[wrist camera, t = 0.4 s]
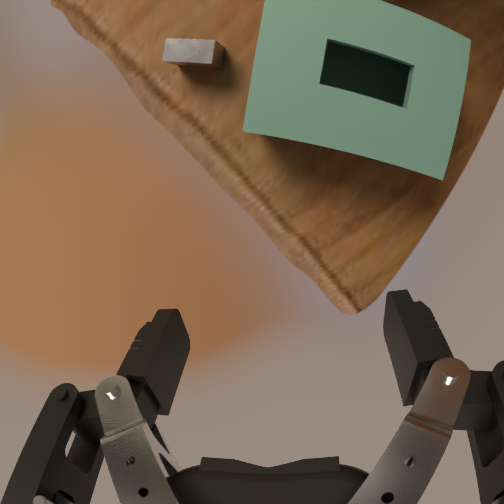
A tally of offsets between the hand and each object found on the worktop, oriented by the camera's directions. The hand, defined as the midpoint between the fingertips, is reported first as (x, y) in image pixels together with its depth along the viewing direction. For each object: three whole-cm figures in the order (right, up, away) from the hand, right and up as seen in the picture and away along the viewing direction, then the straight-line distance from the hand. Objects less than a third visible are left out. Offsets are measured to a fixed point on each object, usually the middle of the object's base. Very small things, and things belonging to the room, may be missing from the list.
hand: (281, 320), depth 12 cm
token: (-7, +24, +18) cm, 31 cm away
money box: (+9, +21, +18) cm, 29 cm away
